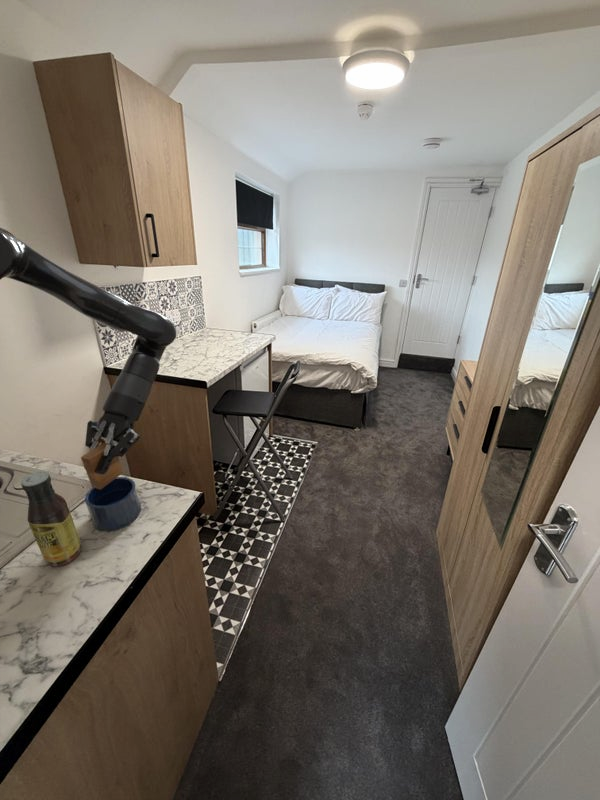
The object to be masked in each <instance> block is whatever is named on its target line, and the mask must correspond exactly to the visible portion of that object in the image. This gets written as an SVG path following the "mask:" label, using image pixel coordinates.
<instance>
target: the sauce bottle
mask: <svg viewBox="0 0 600 800" xmlns="http://www.w3.org/2000/svg"><path fill="white" fill-rule="evenodd" d="M20 485H21V488H22V490H23V491H24V492H25V494H26V496H27V499H28V507H27V509H28V510H27V523H28V525H29V528H30V530H31V532H32V535H33V537H34V539H35V541H36V544H37V546H38V548H39V551H40V553H41V556H42V558H43V559H44V561H45V562H46V563H47V565H49V566H51V567H60V566H65V565H67V564H69V563H70V562H72V561H73V560H74V559H76V557H78V555H79V554H80V552H81V550H82V544H81V539H80V536H79V533H78V530H77V528H76V525H75V521H74V518H73V516H72V514H71V510H70V509H69V507H68V503H67V501H66V499H65V498H64V497H63V496H62V495H60V494H58V493H57V492H55V489H54V487H53V485H52V478H51V476H50V474H49V472H46V471H37V472H33V473H30V474H29V475H26V476H25V477H24V478H23V479H22V480H21V484H20Z"/></svg>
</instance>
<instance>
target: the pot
mask: <svg viewBox="0 0 600 800" xmlns="http://www.w3.org/2000/svg"><path fill="white" fill-rule="evenodd" d="M137 490H138V489H137V487H136V483H135V481H134V480H133V479H131V478H130V477H127V476H118V477H117V478H116V479H114V480H113V481H111V482H110V483H109V484H107V485H106V486H105V487H103V488H102V489H101V490H100V489H97V488H94V487H91V488H90V489H89V490H88V491H87V492H86V494H85V497H84V502H85V505H86V508H87V511H88V513H89V515H90V519H91V521H92V524H93V527H94V528H95V529H97V530H98V531H100V532H115V531H117V530H121V529H123V528H126V527H127V526H129V525H131V524H132V523H133V522H134V521H136V519H138V517H139V516H140V514H141V511H142V505H141V501H140V497H139V494H138V491H137Z"/></svg>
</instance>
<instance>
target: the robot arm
mask: <svg viewBox="0 0 600 800" xmlns="http://www.w3.org/2000/svg"><path fill="white" fill-rule="evenodd" d="M3 278H7V279H10V280H14V281H16V282H18V283H19V282H20V283H23V284H25V285H28V286H31V287H33V288H36V289H38V290H40V291H41V292H44V293H46V294H48V295H50V296H52V297H54V298H56V299H57V300H59V301H61V302H62V303H64V304H66V305H67V306H69V307H70V308H71V309H73V310H75V311H77V312H78V313H80V314H81V315H83V316H86V317H87V318H89V319H91V320H93V321H96V322H97V323H99V324H102V325H103V326H106V327H108V328H110V329H113V330H114V331H117V332H122V333H123V332H128V333H131V334H133V335H135V336H136V338H135V341H134V344H133V346H132V349H131V352H130V353H129V356H128V357H127V359H126V361H125V363H124V366H123V367H122V369H121V372H120V373H119V375H118V376H117V378H116V380H115V381H114V383H113V385H112V387H111V389H110V391H109V393H108V395H107V398H106V400H105V402H104V404H103V406H102V411H104V412H103V414H102V416H101V417H100V418H99V420H97V421H94V420H89V421H87V424H86V425H87V426H86V434H85V444H84V445H85V447H88V449H89V452H90V451H92V450H93V449H95V448H96V447H98V446H100V445H101V444H103V443H105V444H106V447H105V450H104V453H103V455H104V456H103V455H102V456H101V458H100V461H99V463H98V465H97V467H96V469H95V473H98V474H105V473H106V472H107V471H108V469H109V467H110V464H111V462H112V460H113V458H115V457H118V458H119V457H120V458H122V457H124V456H125V455H126V454H127V452H129V450H130V449H131V448H132V447H133V446H134V445H135V444H136V443H137V442H138V441H139V440H140V439H141V435H140V434H138V433H136V432H135V431H134V425H135V422H138V421H139V419H140V417H141V415H142V412H143V409H144V408H145V405H146V403H147V401H148V399H149V397H150V394H151V391H152V387H153V384H154V383H155V380H156V378H157V376H158V373H159V371H160V367H161V364H160V361H161V359H162V357H163V355H164V352H165V351H166V349H167V347H169V346H170V345H171V344H172V343H174V341H175V340H176V338H177V333H178V332H177V328H176V326H175V324H174V323H173V322H172V321H171V320H170V319H169V318H167V317H166V316H165V315H162V314H160V313H158V312H156V311H153V310H150V309H148V308H145V307H141V306H138V305H135V304H133V303H130V302H128V301H127V300H125V299H123V298H122V297H119V296H118V295H116V294H114V293H112V292H110V291H108V290H107V289H104V288H102V287H100V286H98V285H96V284H94V283H92V282H90V281H88V280H86V279H85V278H82V277H80V276H78V275H77V274H74V273H73V272H70V271H68V270H66V269H65V268H63V267H61V266H59V265H58V264H56V263H55V262H53V261H52V260H50V259H48V258H46V257H45V256H44V255H42V254H40V253H39V252H38V251H36V250H34V249H33V248H32V247H30V246H29V245H27V244H26V243H24V242H23V240H21V239H19V238H18V237H16V235H14V234H13V233H12V232H10V231H8V230H7V229H5V228H3V227H0V281H1V280H2V279H3ZM112 446H113V449H112V450H111V448H112ZM83 469H85V467H84V466H83Z"/></svg>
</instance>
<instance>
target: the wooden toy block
mask: <svg viewBox="0 0 600 800" xmlns="http://www.w3.org/2000/svg"><path fill="white" fill-rule="evenodd" d="M105 447H106V444H105V443H103V444H101V443H100V444H99V446H98V447H96V448H95V449H93V450H92V451H90V450H89V451H88V452H87V453H85V454H83V455H82V456H80V459H81V461H82V464H83V468H84V467H85V472H86V474H87V477H88V480H89V482H90V485H91V488H93V487H94V488H97V489H100V490H101V489H102V488H103V487H105V486H106V485H107V484H109V483H110V482H111V481H113V480H114V479H116V478H117V477H121V475H122V474H124V470H123V468H122V467H123V466H122V464H121V460H120V458H119V456H118V457H115V458H113V460H112V462H111V464H110V467H109V469H108V471H107V472H106V473H105V474H98V473H95V469H96V467H97V465H98V463H99V461H100V458H101V456H102V455H103V453H104V450H105ZM112 449H113V446H112V448H111V450H112ZM103 456H104V455H103Z"/></svg>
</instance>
